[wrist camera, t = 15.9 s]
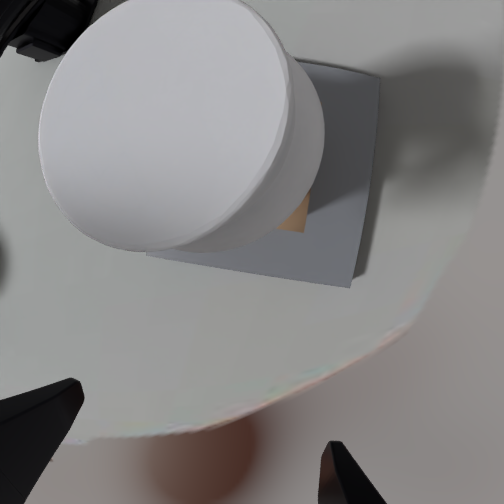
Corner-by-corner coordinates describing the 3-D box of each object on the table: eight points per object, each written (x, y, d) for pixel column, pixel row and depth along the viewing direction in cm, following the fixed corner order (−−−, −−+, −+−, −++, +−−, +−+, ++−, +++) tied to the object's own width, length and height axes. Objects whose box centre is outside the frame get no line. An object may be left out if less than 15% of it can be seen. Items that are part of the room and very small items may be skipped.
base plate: (175, 63, 17) (169, 57, 16) (375, 83, 16) (380, 78, 15) (153, 251, 21) (146, 255, 20) (346, 282, 20) (349, 288, 19)
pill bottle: (332, 167, 12) (441, 139, 3) (237, 240, 14) (133, 367, 4) (254, 76, 12) (186, -78, 2) (165, 151, 13) (-14, 132, 4)
